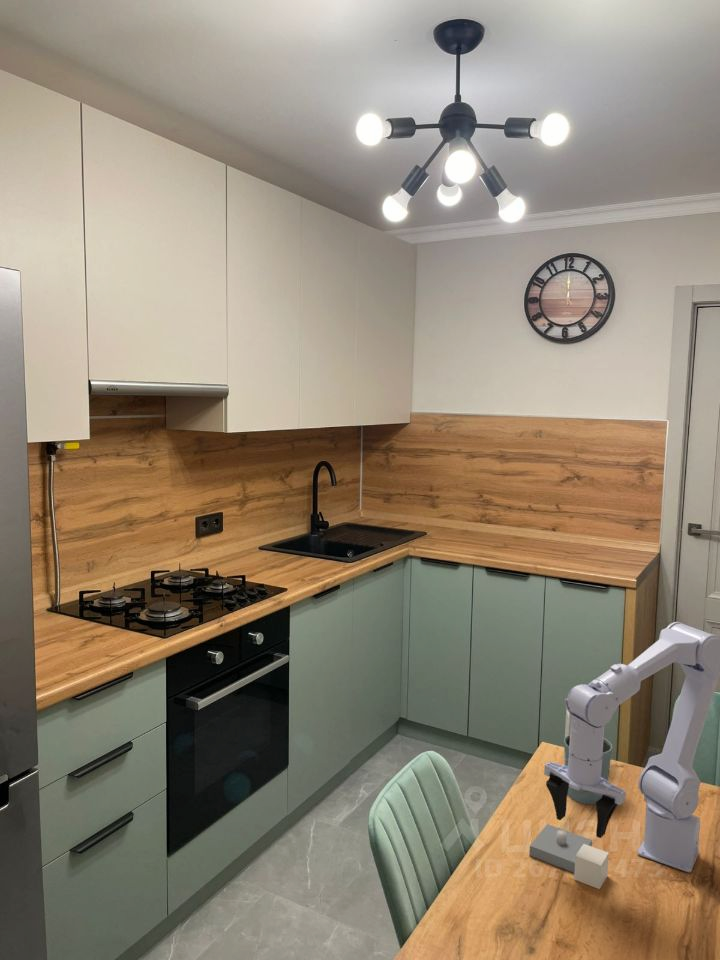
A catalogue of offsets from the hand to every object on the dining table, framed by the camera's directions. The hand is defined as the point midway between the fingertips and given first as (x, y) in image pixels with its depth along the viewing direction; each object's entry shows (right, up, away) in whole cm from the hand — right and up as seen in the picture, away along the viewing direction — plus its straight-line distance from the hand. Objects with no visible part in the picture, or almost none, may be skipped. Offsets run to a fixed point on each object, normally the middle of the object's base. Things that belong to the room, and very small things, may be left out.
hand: (580, 826), depth 131 cm
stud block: (-1, -9, +8) cm, 12 cm away
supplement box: (+13, -6, +42) cm, 44 cm away
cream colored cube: (+2, -10, +1) cm, 10 cm away
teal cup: (+10, -7, +29) cm, 32 cm away
